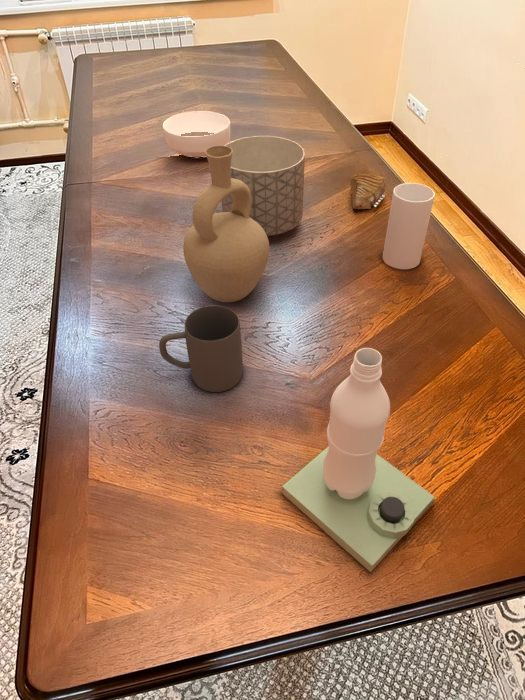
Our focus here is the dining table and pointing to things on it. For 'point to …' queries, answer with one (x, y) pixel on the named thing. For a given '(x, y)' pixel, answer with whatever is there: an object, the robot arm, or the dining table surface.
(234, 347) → the mug
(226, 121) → the bowl
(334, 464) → the water bottle
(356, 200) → the fossil
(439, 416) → the dining table surface
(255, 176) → the planter
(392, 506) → the button
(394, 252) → the cup
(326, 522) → the scale
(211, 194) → the vase
